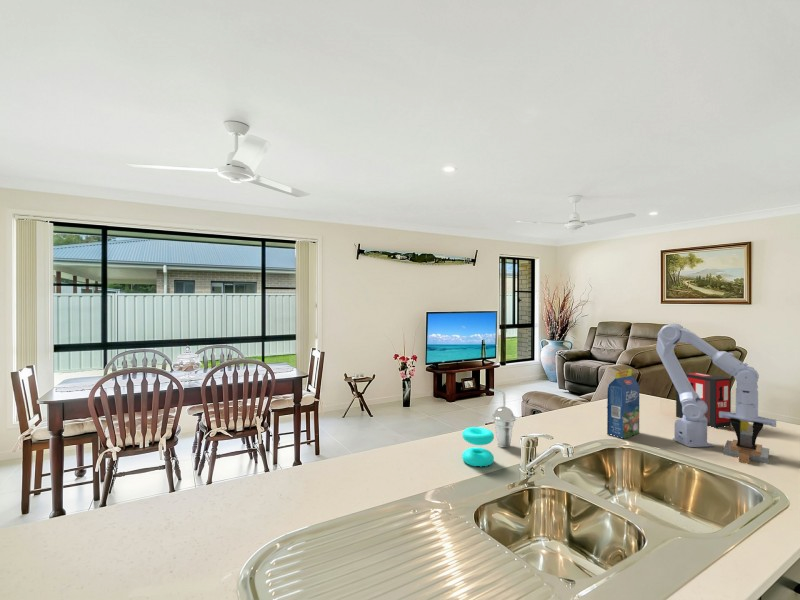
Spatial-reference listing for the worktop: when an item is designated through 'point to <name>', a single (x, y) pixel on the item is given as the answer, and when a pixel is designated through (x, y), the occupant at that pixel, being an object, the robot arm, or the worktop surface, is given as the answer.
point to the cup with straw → (503, 423)
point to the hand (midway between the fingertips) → (746, 442)
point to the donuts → (477, 454)
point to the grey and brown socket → (746, 452)
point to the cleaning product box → (710, 396)
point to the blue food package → (623, 405)
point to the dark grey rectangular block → (746, 440)
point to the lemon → (743, 425)
